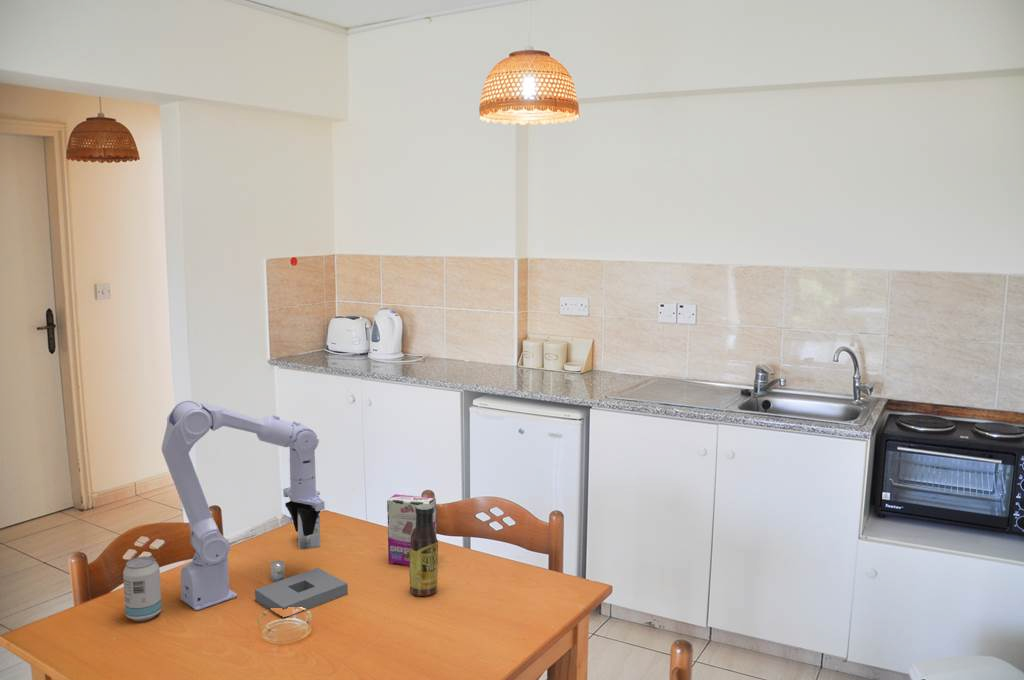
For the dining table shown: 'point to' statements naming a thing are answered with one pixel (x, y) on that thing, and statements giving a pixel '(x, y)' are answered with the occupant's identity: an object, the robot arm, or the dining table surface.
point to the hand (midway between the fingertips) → (304, 532)
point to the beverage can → (142, 588)
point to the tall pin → (302, 536)
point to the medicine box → (316, 534)
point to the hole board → (302, 590)
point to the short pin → (277, 571)
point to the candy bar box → (403, 525)
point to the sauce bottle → (423, 553)
